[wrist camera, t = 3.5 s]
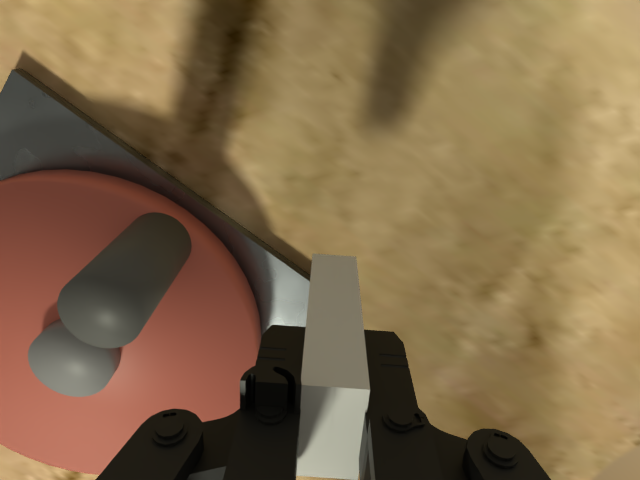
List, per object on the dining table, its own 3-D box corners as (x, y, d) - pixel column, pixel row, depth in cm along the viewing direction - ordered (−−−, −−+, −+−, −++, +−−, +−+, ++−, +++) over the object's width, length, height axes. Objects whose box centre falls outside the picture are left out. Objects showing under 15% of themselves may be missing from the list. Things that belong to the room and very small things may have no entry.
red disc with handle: (156, 488, 27) (101, 629, 21) (-116, 345, 24) (-286, 462, 17) (331, 305, 22) (331, 417, 16) (17, 82, 18) (-156, 108, 12)
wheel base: (-113, 336, 24) (-124, 342, 24) (21, 68, 19) (12, 69, 18) (164, 483, 28) (160, 492, 28) (342, 298, 23) (342, 304, 22)
